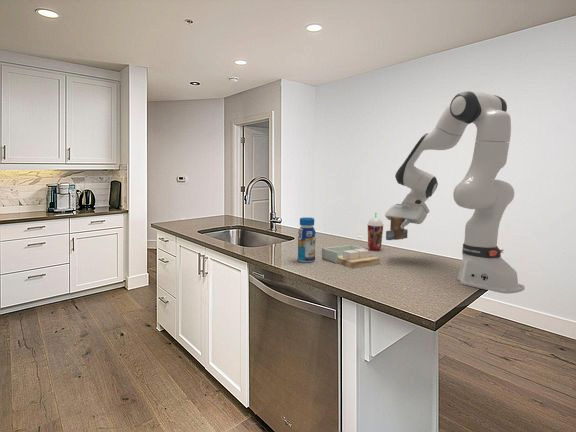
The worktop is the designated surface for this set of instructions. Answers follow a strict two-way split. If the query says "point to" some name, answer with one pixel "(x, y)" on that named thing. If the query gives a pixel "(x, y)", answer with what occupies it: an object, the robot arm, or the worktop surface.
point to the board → (359, 261)
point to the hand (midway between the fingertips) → (396, 227)
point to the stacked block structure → (396, 229)
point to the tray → (336, 252)
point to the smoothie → (375, 234)
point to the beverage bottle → (306, 240)
